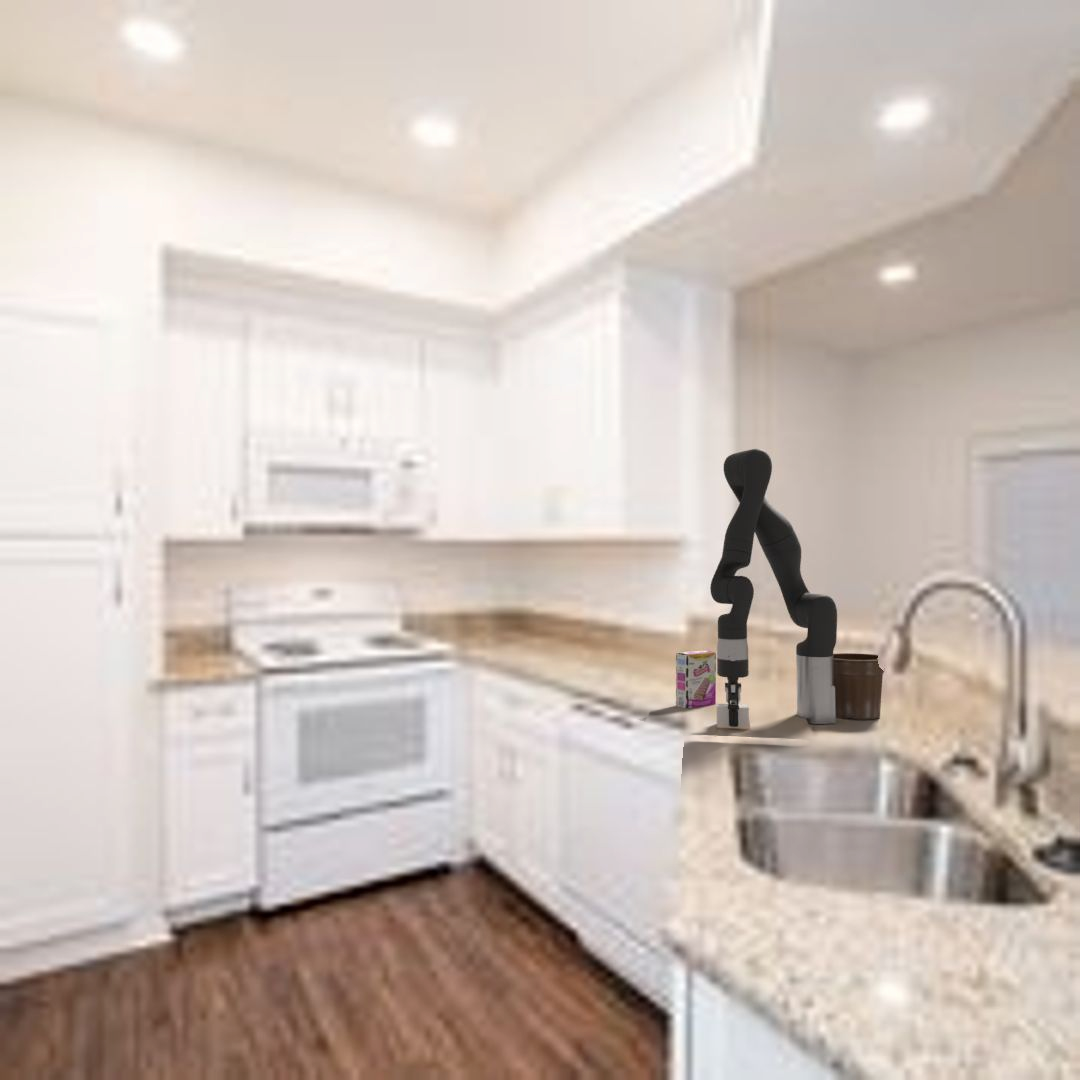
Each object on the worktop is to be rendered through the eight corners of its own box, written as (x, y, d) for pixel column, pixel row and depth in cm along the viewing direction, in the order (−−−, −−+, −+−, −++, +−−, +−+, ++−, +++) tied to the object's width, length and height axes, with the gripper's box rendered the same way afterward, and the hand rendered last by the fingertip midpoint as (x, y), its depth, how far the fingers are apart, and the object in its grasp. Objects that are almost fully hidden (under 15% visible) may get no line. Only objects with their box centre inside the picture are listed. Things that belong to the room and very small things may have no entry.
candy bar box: (687, 714, 221) (687, 654, 221) (675, 711, 225) (674, 652, 226) (717, 709, 227) (716, 651, 227) (704, 706, 231) (704, 649, 231)
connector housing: (716, 727, 196) (716, 706, 196) (717, 723, 201) (716, 703, 201) (748, 728, 195) (748, 708, 195) (748, 724, 199) (748, 704, 199)
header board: (748, 720, 212) (748, 714, 212) (750, 736, 193) (750, 730, 193) (717, 718, 214) (717, 713, 214) (716, 735, 195) (716, 729, 195)
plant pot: (810, 712, 221) (809, 654, 221) (856, 708, 227) (855, 651, 227) (853, 724, 206) (852, 661, 206) (901, 719, 212) (900, 658, 212)
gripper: (717, 652, 206) (718, 716, 205) (716, 660, 192) (717, 728, 191) (747, 653, 204) (748, 717, 204) (749, 660, 190) (750, 729, 190)
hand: (733, 722), depth 198 cm, fingers open, 8 cm apart
